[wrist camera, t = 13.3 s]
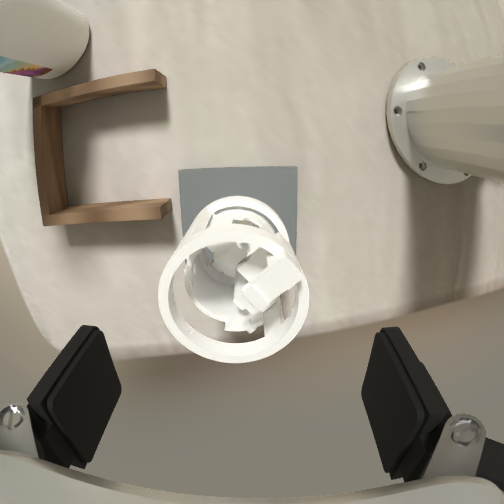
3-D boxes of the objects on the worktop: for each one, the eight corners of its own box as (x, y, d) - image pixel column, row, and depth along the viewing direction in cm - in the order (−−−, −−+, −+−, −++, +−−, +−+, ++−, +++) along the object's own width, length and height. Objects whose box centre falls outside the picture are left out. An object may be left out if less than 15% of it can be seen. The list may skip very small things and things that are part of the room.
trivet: (296, 166, 26) (297, 167, 26) (294, 274, 30) (294, 276, 29) (179, 169, 26) (178, 170, 26) (188, 276, 30) (187, 278, 29)
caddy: (166, 76, 23) (154, 68, 20) (171, 209, 28) (161, 219, 24) (53, 99, 23) (33, 97, 20) (62, 216, 28) (43, 226, 24)
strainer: (296, 228, 28) (344, 321, 14) (236, 277, 29) (229, 397, 15) (242, 167, 26) (237, 201, 12) (182, 221, 27) (121, 308, 13)
